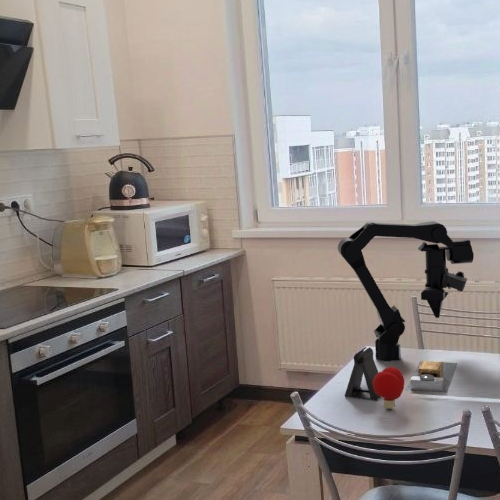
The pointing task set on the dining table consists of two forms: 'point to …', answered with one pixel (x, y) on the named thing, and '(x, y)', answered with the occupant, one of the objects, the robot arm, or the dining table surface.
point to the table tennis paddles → (389, 386)
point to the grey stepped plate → (432, 380)
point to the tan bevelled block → (431, 368)
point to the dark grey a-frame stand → (366, 366)
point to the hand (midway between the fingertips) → (437, 317)
